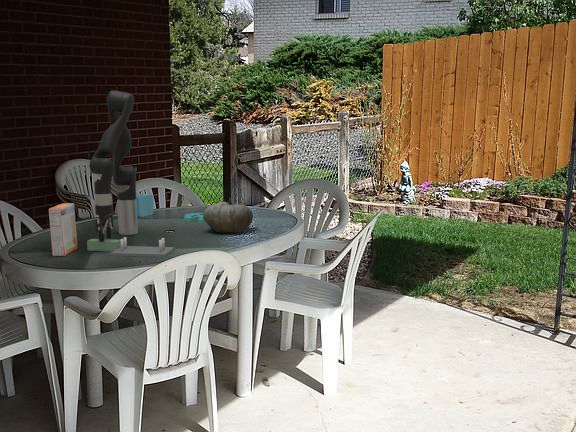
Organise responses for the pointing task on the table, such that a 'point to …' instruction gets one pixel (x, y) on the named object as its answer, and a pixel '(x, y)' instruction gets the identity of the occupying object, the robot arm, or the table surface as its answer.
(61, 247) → the cracker box
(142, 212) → the light blue block
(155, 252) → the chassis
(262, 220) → the table surface
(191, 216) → the alien figure
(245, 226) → the gourd
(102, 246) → the green rectangular block
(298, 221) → the table surface
